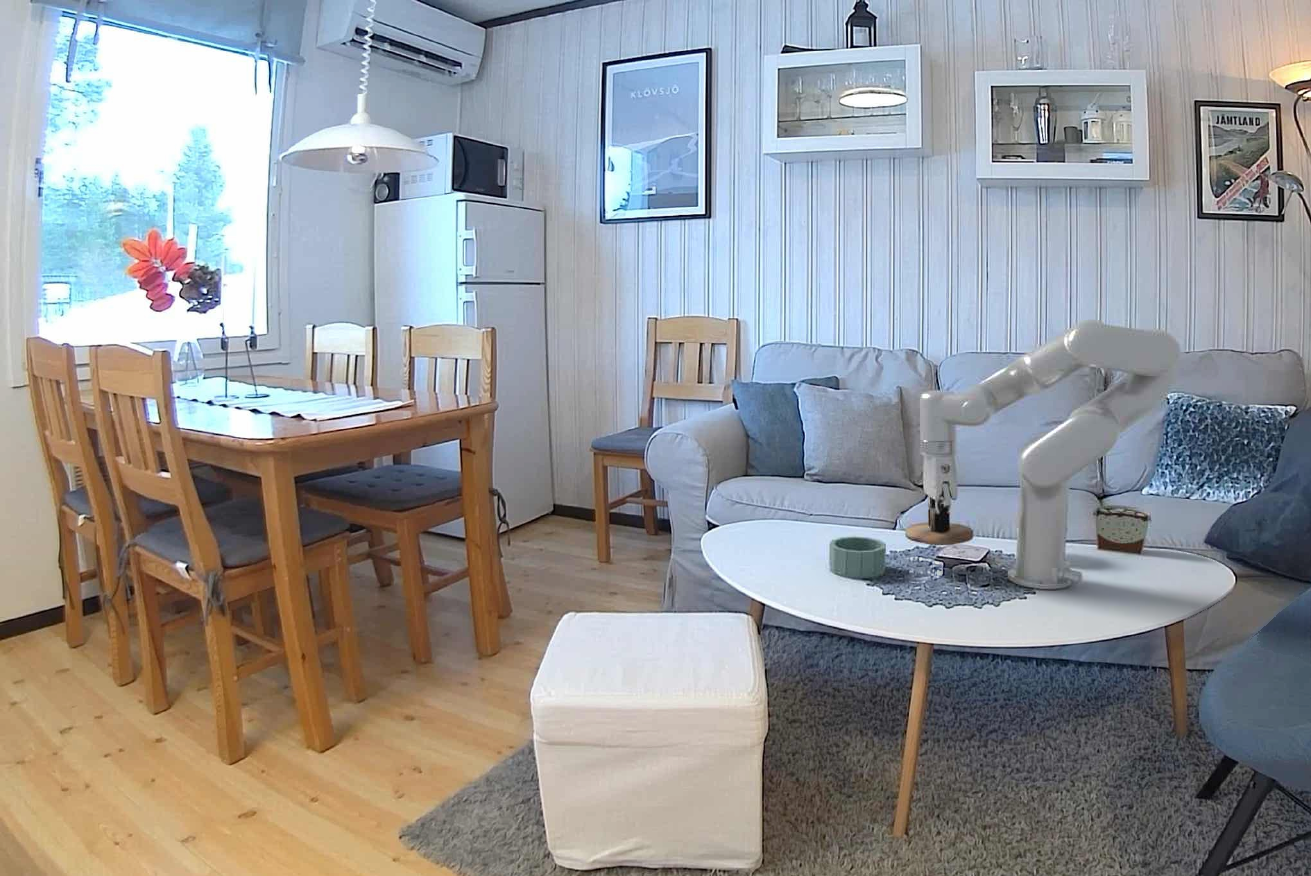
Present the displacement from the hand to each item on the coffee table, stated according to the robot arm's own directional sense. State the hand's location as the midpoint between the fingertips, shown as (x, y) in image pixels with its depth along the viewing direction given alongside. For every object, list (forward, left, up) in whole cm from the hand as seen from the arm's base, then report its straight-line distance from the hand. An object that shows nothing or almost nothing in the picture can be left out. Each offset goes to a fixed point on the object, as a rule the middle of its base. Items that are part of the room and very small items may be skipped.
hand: (938, 527), depth 203 cm
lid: (0, 0, -3) cm, 3 cm away
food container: (-21, -44, -10) cm, 49 cm away
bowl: (+12, +13, -10) cm, 20 cm away
